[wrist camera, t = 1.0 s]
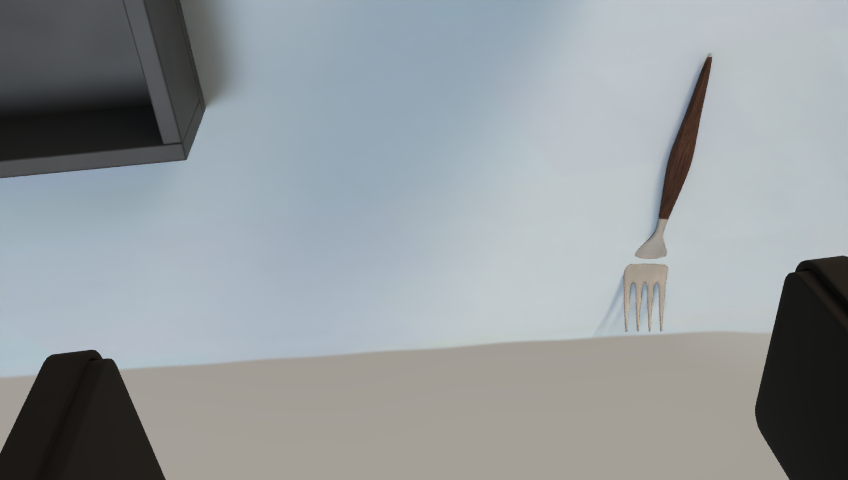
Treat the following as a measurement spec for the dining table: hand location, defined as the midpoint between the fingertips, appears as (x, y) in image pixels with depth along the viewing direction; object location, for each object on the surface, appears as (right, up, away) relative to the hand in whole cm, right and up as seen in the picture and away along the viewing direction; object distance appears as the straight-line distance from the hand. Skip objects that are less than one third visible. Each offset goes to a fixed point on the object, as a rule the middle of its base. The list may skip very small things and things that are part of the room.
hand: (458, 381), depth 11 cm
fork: (+13, +5, +30) cm, 33 cm away
